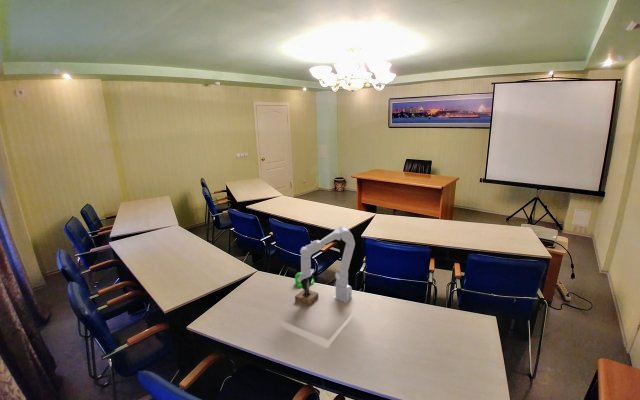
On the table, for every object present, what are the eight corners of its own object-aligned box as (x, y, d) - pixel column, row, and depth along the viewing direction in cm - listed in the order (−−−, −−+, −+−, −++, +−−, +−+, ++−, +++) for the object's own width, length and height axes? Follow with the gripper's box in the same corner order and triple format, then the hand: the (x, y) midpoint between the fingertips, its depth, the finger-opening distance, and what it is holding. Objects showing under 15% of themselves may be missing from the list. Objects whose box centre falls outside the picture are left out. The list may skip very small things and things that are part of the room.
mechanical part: (298, 288, 185) (298, 277, 183) (295, 284, 190) (294, 273, 189) (315, 284, 190) (315, 273, 189) (311, 280, 196) (311, 269, 194)
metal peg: (310, 292, 171) (310, 278, 169) (307, 294, 168) (307, 280, 166) (306, 290, 172) (306, 277, 170) (303, 293, 170) (303, 279, 168)
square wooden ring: (318, 298, 173) (318, 293, 172) (308, 306, 165) (308, 300, 164) (305, 293, 178) (304, 288, 177) (295, 301, 170) (295, 296, 169)
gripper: (307, 261, 175) (308, 281, 178) (292, 270, 163) (293, 291, 166) (317, 263, 171) (317, 284, 174) (302, 273, 159) (303, 295, 162)
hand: (306, 288), depth 170 cm, fingers closed on metal peg, 3 cm apart
